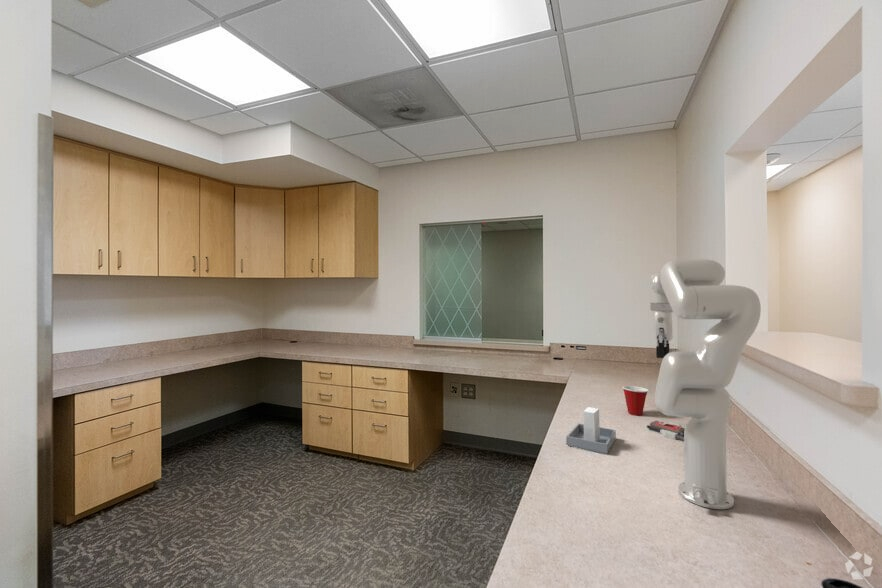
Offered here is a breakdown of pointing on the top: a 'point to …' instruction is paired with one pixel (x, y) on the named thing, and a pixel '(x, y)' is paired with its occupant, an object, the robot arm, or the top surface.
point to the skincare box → (591, 424)
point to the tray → (601, 446)
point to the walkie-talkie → (668, 429)
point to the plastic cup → (635, 399)
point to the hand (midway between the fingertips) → (663, 355)
